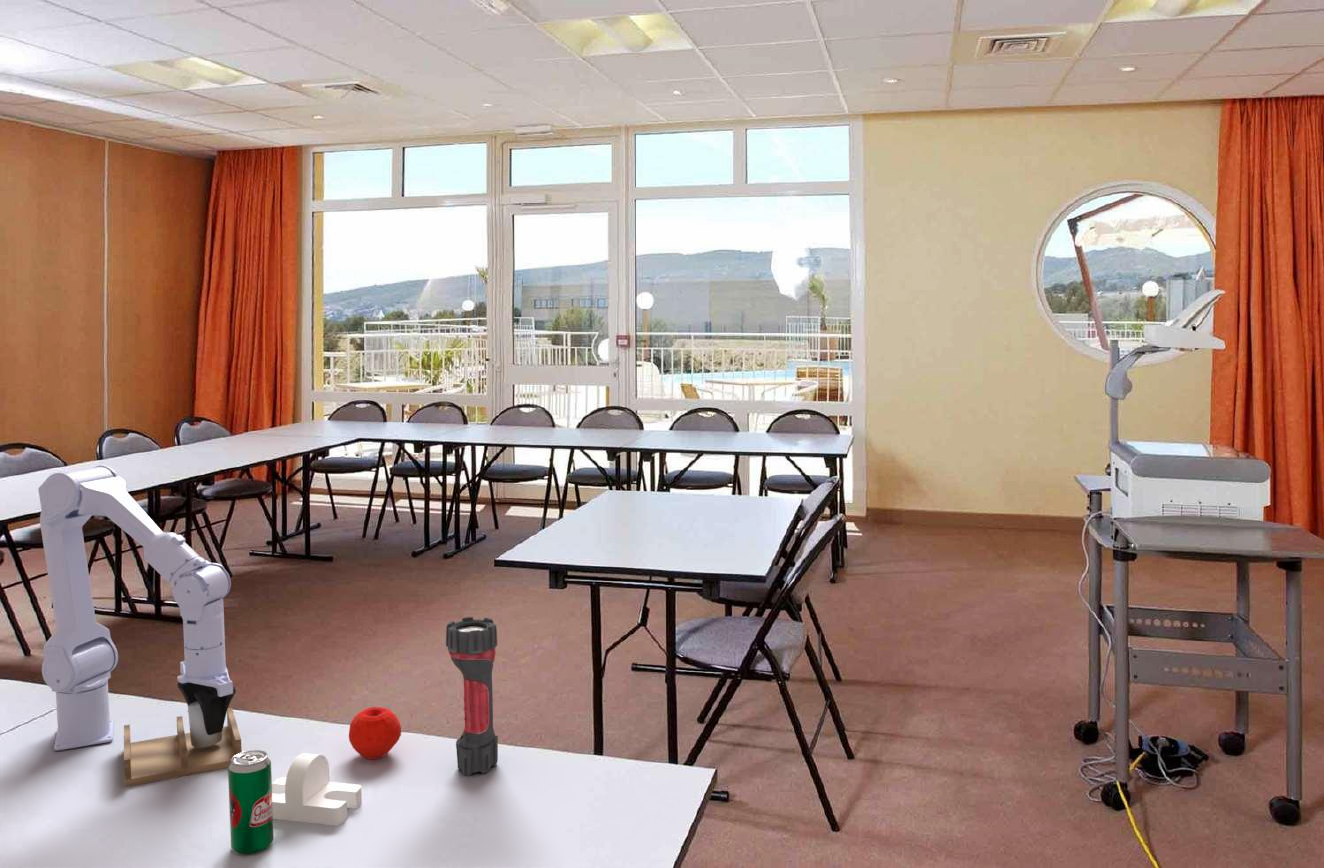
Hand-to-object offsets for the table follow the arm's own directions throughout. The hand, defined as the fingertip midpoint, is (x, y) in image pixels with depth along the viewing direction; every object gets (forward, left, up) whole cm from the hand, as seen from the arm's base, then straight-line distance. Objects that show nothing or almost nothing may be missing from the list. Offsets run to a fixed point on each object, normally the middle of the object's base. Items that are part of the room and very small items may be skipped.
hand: (207, 728), depth 151 cm
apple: (+13, +23, -4) cm, 27 cm away
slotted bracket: (+26, +11, -4) cm, 28 cm away
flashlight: (+25, +35, -4) cm, 43 cm away
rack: (0, -4, -4) cm, 5 cm away
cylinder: (0, 0, -2) cm, 2 cm away
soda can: (+33, +3, -4) cm, 33 cm away
